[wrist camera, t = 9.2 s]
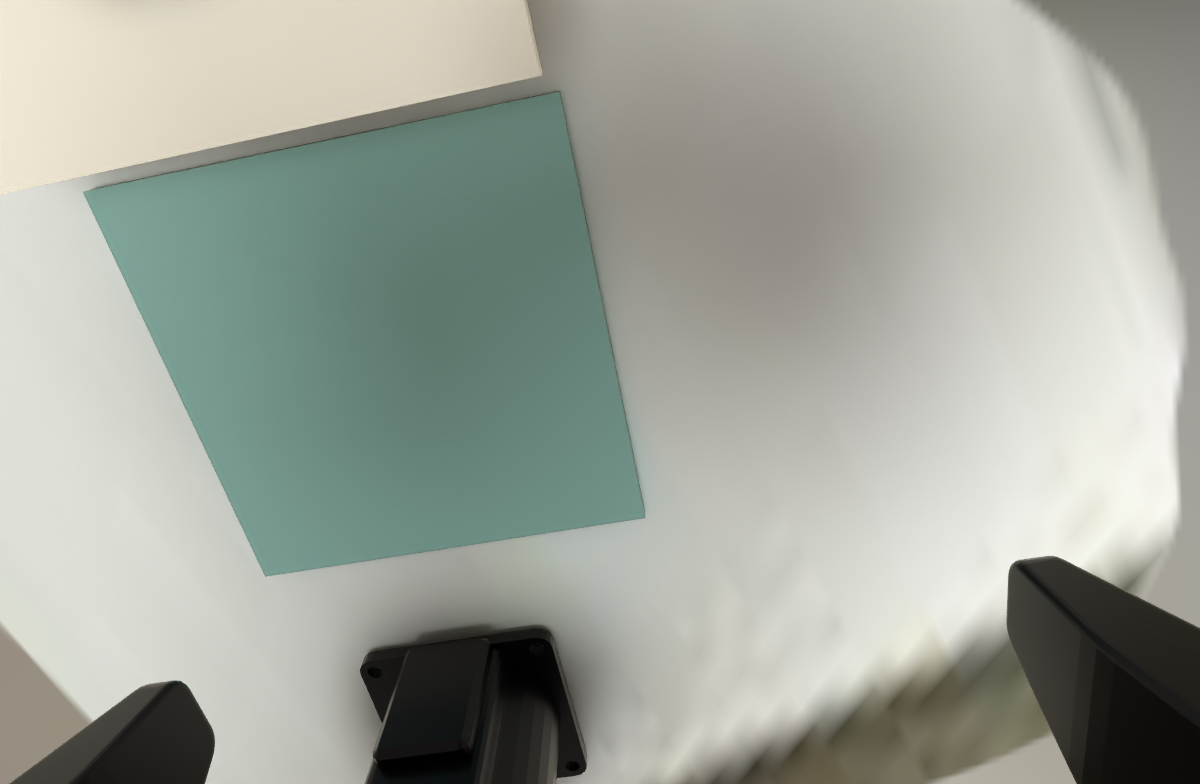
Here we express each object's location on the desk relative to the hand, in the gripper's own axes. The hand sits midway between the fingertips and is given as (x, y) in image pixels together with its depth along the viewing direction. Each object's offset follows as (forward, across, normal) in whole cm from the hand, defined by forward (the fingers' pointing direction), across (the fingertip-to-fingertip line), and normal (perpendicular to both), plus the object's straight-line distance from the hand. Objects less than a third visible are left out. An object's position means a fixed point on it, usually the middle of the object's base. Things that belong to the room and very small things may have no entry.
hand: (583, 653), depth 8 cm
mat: (+13, +6, +1) cm, 14 cm away
